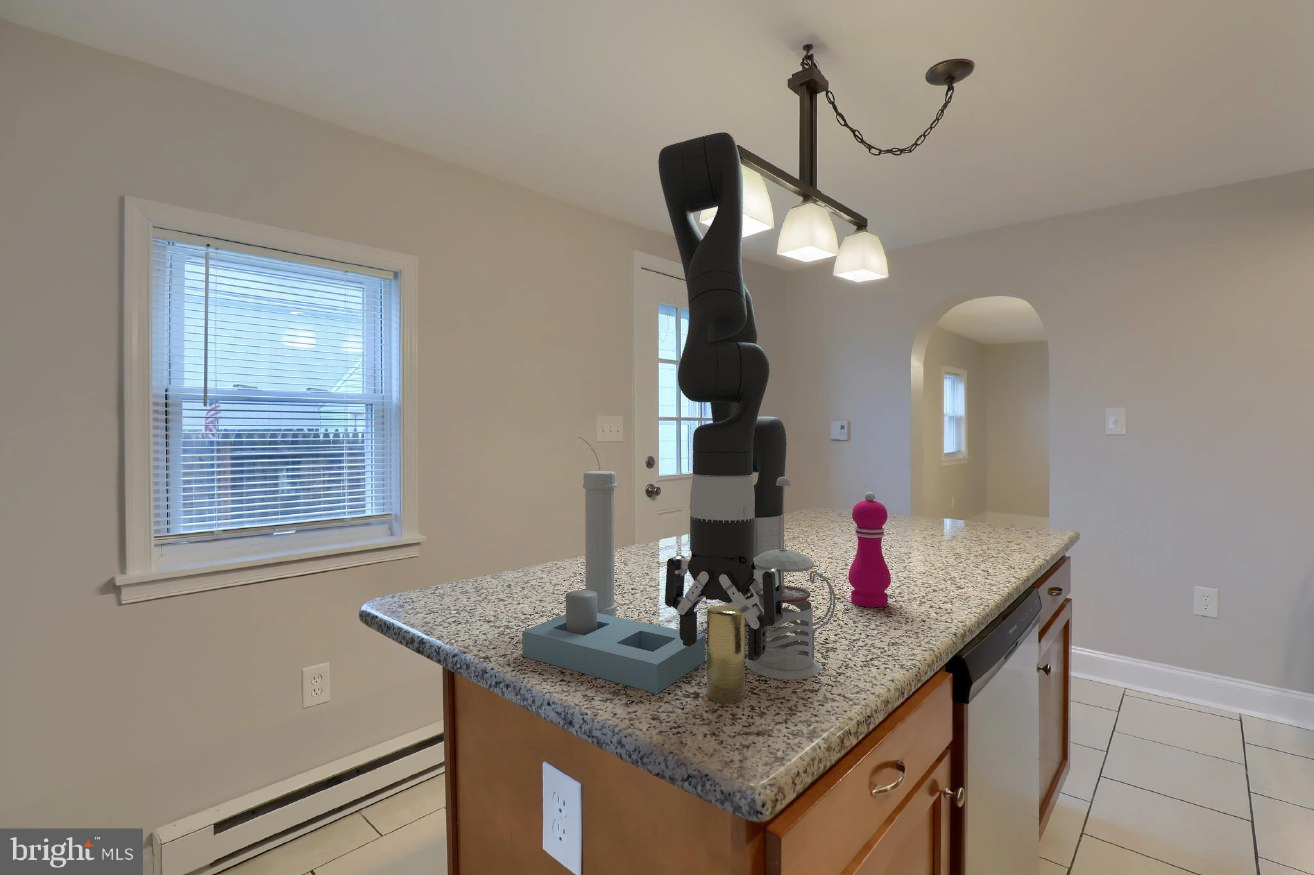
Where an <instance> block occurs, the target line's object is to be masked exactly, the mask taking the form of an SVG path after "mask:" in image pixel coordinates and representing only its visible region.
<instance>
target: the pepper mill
mask: <svg viewBox="0 0 1314 875" xmlns="http://www.w3.org/2000/svg"><path fill="white" fill-rule="evenodd" d="M875 499H876V496H875V493H874V492H872V491H867V492H866V493H864V500H860V501H858V502H857V503H856V504H855V505H854V507H853V508H852V512H851V513H852V514H851V517H852V520H853V521H854V523H855V524H856V526H855V527H854V531H855V532H854V535H855V536H857V549H856V552H855V556H854V558H853V560H852V562H851V565H850V566H849V567H850V568H849V570H848V577H847V578H848V579H847V580H848V582H849V585H850V586H852V587H853V590H851V592H850V602H851V603H852V602H853V603H852V604H854V605H856V604H857V605H856V606H858V607H859V606H860V607H863V606H865V608H872V607H879V608H884V607H883V606H885V607H887V606H888V605H889V596H888V593H887V592H885V591H886V590H887V589H888V588H889V587H890V586H891V582H892V579H891V573H890V569H889V567H888V565H887V562H886V561H885V558H884V554H883V550H882V549H883V548H882V541H883V537H885V528H884V527H883V526H884V525H885V524H886V522H887V520H888V510H887V508H886V506H885V505H884V504H882V503H881V502H879V501H877V500H875ZM887 604H888V605H887Z"/></svg>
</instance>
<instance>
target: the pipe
mask: <svg viewBox="0 0 1314 875" xmlns="http://www.w3.org/2000/svg"><path fill="white" fill-rule="evenodd" d="M578 438H579V439H581V440H582V441H583V442H585V443H586V444H587V445H588V447H590V448H591V450H592V452H593V453H594V456H595V458H596V461H597V464H598V470H591V471H585V472H583V484H582V489H585V492H584V493H585V494H584V496H585V501H584V503H585V504H584V505H585V506H584V508H585V512H584V513H585V515H584V517H585V518H584V519H585V521H584V522H585V523H584V524H585V526H584V527H585V532H584V533H585V536H584V537H585V547H584V548H585V590H590V591H594V592H596V593H597V613H600V614H605V615H610V616H615V617H617V609H618V603H617V602H615V489H618V485H617V474H616V472H615V471H611V470H610V471H609V470H601V465H600V461H599V458H598V455H597V453H596V451H595V448H593V447H592V445H591V444H590V443H589V442H588V441H587V440H586V439H584V438H583V437H581V436H579V437H578Z"/></svg>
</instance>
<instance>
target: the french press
mask: <svg viewBox="0 0 1314 875" xmlns="http://www.w3.org/2000/svg"><path fill="white" fill-rule="evenodd" d="M776 485H777V486H782V487H783V548H781V549H777V550H770V551H767V552H764V553H761V554H760V555H758V556H757V557H755V558H754V559H753V560H754V564H755V566H756V567H757V568H760V569H766V570H770V569H772V568H775V567H776V568H778V569H779V570H780V571H781V572H782V603H783V604H787V605H791V606H794V607H795V608H796V609H798V610H799V611H797V610H794V609H792V608H788V607H783V618H782V620H780V621H779V622H777V623H776V624H774V625H772V626H767V627H766V630H767V629H770V628H773V629H771V630H769V631H766V639H767V638H770V640H767V641H766V651H765V653H764V654H763V655H761V657H760V658H759V659H758V660H756V661H751V660H749V659H748V657H746V659H745V666H746V667H747V668H748V669H749V671H751V672H754V673H755V674H758V675H760V676H764V677H768V678H771V679H776V680H777V679H778V680H787V681H789V680H790V681H792V680H804V679H808V678H811V677H814V676H816V675H817V674H819V673H820V672H821V664H820V663H819V662H818V661H817V660H816V659H815V632H816V631H817V630H819V629H821V628H823V627H825V626H826V625H827V624H828V623H829V622H830V621H831V619H832V618H833V615H835V611H836V610H835V609H836V593H835V590H834V588H833V586H832V584H831V582H830V581H829V580H828V579H827V578H825V576H824V575H822V574H821V573H819V572H818V571H816V570H812V569H813V568H814V566H815V561H814V560H812V559H811V558H810V557H808V556H807V555H805V554H803V553H800V552H797V551H796V550H792V549H787V548H785V487H789V486H791V480H790V479H789V477H786V476H785V477H779V478H778V479H777V483H776ZM805 571H810V572H809V581H810V583H811V584H812V585H813V584H815V579H816V578H815V577H818V578H821V579H823V580H824V581H825V583H826V585H827V588H828V591H829V600H830V601H829V602H830V603H829V605H828V609H827V611H826V613H825V615H824V616H823V617H821V619H820V620H818V621H815V622H814V621H813V620H814V617H813V613H814V612H813V610H814V606H813V605H812V602H810V601H809V600H808V599H810V598H811V592H810V591H809V590H808V589H806V588H803V587H799V586H795V585H794V586H792V585H788V584H787V585H785V573H799V572H800V573H801V572H805ZM756 594H757V595H758V596H759V603H760V605H761V607H762V608H763V610H764V600H763V589H762V588H760V587H759V588H758V589H757V590H756ZM831 608H832V611H831ZM830 611H831V613H830ZM829 613H830V615H829ZM828 615H829V618H828ZM826 618H828V619H827V620H826V621H825V622H824V623H823V624H821V625H818V624H820V623H822V622H823V621H824V620H825V619H826ZM787 623H789V624H792V626H791V625H790V626H787V625H783V624H787ZM781 625H782V626H781ZM816 625H818V626H816ZM815 626H816V627H815ZM787 633H791V634H794V635H791V636H789V635H787Z"/></svg>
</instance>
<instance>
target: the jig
mask: <svg viewBox="0 0 1314 875" xmlns="http://www.w3.org/2000/svg"><path fill="white" fill-rule="evenodd" d="M522 657H524V658H527V657H528V659H532V660H534V659H535V660H534V661H538V662H542V663H546V664H549V665H552V666H556V667H561V668H563V669H568V670H570V671H575V672H577V673H582V674H585V675H589V676H592V677H595V678H599V679H603V680H606V681H610V682H613V683H618V684H621V685H625V686H628V687H631V688H635V689H638V690H642V691H646V692H650V693H654V694H657V695H658V694H659V693H661V692H662V691H664V690H665V689H667V688H668V687H669V686H671V685H672V684H674V683H675V682H677V681H678V680H680V679H681V678H683V677H684V676H685V675H687V674H689V673H690V672H691V671H693V670H695V668H697V667H698V666H700V665H702V664H703V663H704V662H706V634H701V633H697V641H696V643H695V644H693V645H691V646H690V647H689V646H684V645H683V640H681V638H680V629H676V628H673V627H667V626H662V625H659V624H658V625H657V624H653V623H648V622H644V621H640V620H639V621H638V620H634V619H629V618H624V617H619V616H616V617H615V616H610V615H605V614H600V613H597V593H596V592H594V591H590V590H586V589H576V590H572V591H569V592H566V593H565V614H563V615H559V616H558V617H555V618H552V619H549V620H548V621H545V622H542V623H538V624H537V625H535V626H532V627H529V628H527V629H524V630H522Z"/></svg>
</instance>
